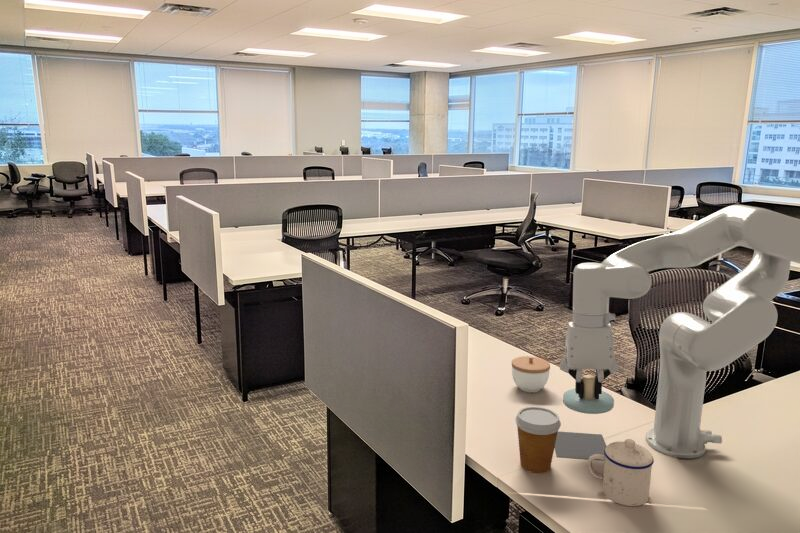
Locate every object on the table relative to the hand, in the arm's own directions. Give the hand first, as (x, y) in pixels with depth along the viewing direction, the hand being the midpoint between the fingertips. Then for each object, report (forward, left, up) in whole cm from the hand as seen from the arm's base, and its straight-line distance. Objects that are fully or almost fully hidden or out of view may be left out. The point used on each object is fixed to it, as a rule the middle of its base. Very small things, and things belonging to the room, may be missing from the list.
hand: (588, 395), depth 131 cm
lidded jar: (+10, -32, -13) cm, 36 cm away
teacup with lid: (-4, +18, -13) cm, 22 cm away
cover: (0, 0, -2) cm, 2 cm away
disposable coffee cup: (+12, +10, -13) cm, 20 cm away
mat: (+1, 0, -13) cm, 13 cm away
